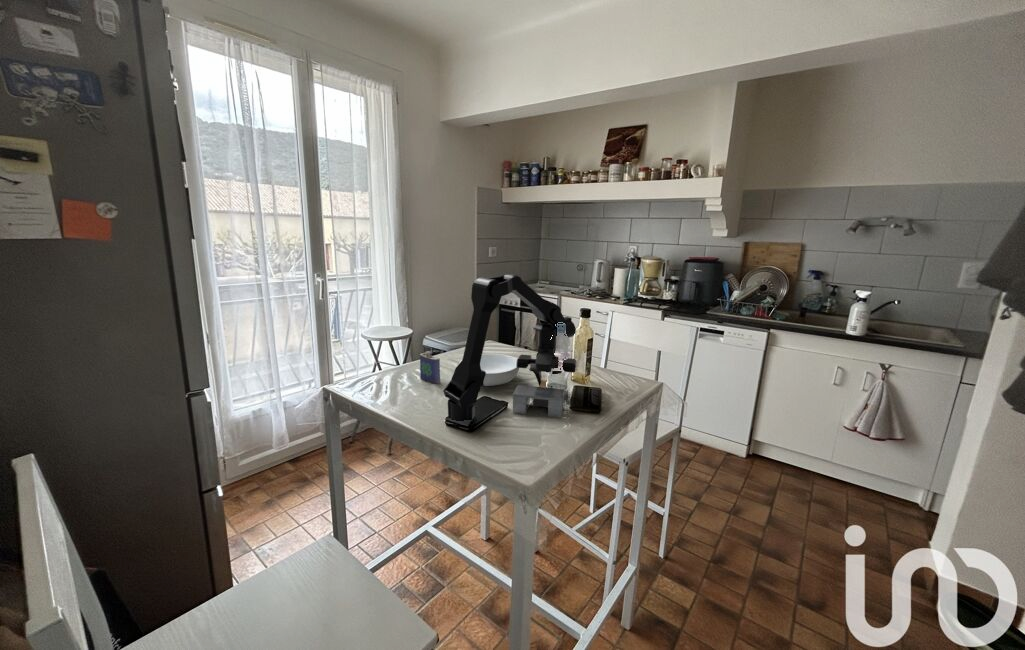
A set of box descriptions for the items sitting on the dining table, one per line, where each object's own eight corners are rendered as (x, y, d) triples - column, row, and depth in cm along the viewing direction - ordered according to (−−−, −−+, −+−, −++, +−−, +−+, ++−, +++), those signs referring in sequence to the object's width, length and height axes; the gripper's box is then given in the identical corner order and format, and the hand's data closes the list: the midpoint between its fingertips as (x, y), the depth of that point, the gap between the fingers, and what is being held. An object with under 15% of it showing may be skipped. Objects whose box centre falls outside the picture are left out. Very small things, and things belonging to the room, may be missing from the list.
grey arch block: (512, 412, 117) (513, 394, 116) (517, 402, 124) (517, 384, 122) (561, 418, 114) (562, 399, 113) (563, 407, 121) (564, 389, 120)
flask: (442, 382, 138) (441, 353, 136) (435, 385, 136) (434, 355, 133) (424, 376, 144) (423, 347, 141) (417, 378, 142) (416, 349, 139)
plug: (532, 405, 122) (533, 392, 121) (539, 387, 135) (540, 375, 134) (547, 407, 121) (548, 394, 120) (553, 388, 135) (553, 377, 133)
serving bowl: (521, 371, 150) (522, 354, 148) (516, 394, 130) (516, 374, 128) (466, 369, 152) (466, 351, 150) (452, 391, 132) (452, 371, 130)
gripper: (513, 347, 123) (512, 395, 127) (575, 352, 119) (572, 401, 123) (520, 337, 133) (519, 381, 137) (577, 341, 129) (575, 387, 133)
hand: (545, 387), depth 132 cm, fingers closed on plug, 3 cm apart
